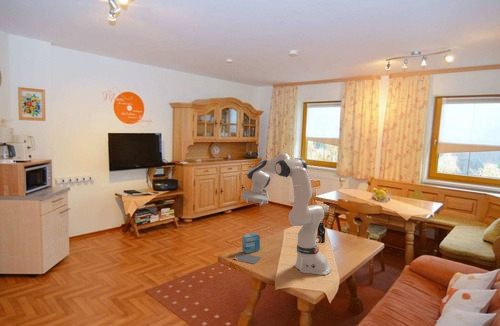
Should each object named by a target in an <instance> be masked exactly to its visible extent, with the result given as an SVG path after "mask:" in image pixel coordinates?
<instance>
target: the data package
mask: <svg viewBox="0 0 500 326" xmlns="http://www.w3.org/2000/svg"><path fill="white" fill-rule="evenodd" d="M241 239H242V240H241V241H242V243H241V245H242V251H243V252H244V254H250V253H255V252H258V251H260V250H261V241H260V239H261V236H260V234H258V233H256V232H254V233H249V234H244V235H242V238H241Z"/></svg>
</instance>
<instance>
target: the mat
mask: <svg viewBox="0 0 500 326" xmlns="http://www.w3.org/2000/svg"><path fill="white" fill-rule="evenodd" d="M234 257H236V258H237V259H238V261H237V262H243V263H248V264H252V265H256V264H257V263H258V261H260V260H261V259H262V256H257V255H252V254H249V253H242V252H239V253H238V254H236V255H235V256H234Z"/></svg>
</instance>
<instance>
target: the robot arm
mask: <svg viewBox="0 0 500 326" xmlns="http://www.w3.org/2000/svg"><path fill="white" fill-rule="evenodd" d="M307 169H308V165H307V161H305V160H304V159H302V158H298V157H295V158H291V157H290V156H289V154H288V153H286V152H280V153H279V154H276V155H275V156H274V157H273V158H271V159H268V160H267V159H265V160H263V161H260V162H259V163H257V164H255V165H253V166H252V167H251V166H250V167H249V168H248V170H247V172H246V177H247V179H249V180H251V181H252V183H251V188H250V190H246V189H244V190H242V192H241V200H244V201H245V202H246V204H248V205H249V203H250V202H255V203H259V207H262V205H265V204H266V205H267V204H269V200H270V197H269V192H268V191H267V190H266V189H265V188H267V187H268V186H269V185H270V182H271V176H270V175H269V174H268V173H271V174H273V175H278V176H280V177H285V178H288V177H290V179H291V181H292V188H293V194H294V195H293V197H294V201H293V206H292V208H291V210H290V211H289V213H288V221H289V222H290V224H291V225H292V226H293V227H301V228H300V229H299V231H298V232H297V245H296V252H297V256H296V261H295V263H294V265H295V266H294V267H295V268H296V269H298V270H299V272H300V273H304V274H312V275H320V276H327V275H328V274H330V273H331V272H332V264H329V262H328V258H327V256H325V255H323V254H322V253H321V252H320V251H319V250H320V246H317V243H316V242H317V241H316V240H317V239H316V238H317V233H318V232H317V230H318V228H319V225H320V223H321V222H322V220H324V218H325V210H324V208H323V207H322V206H321V205H319V204H315V205H314V204H313V205H309V201H310V200H311V199H312V197H313V191H312V190H313V189H312V185H311V179H310V176H309V173H308V171H307ZM266 172H268V173H266Z"/></svg>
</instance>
